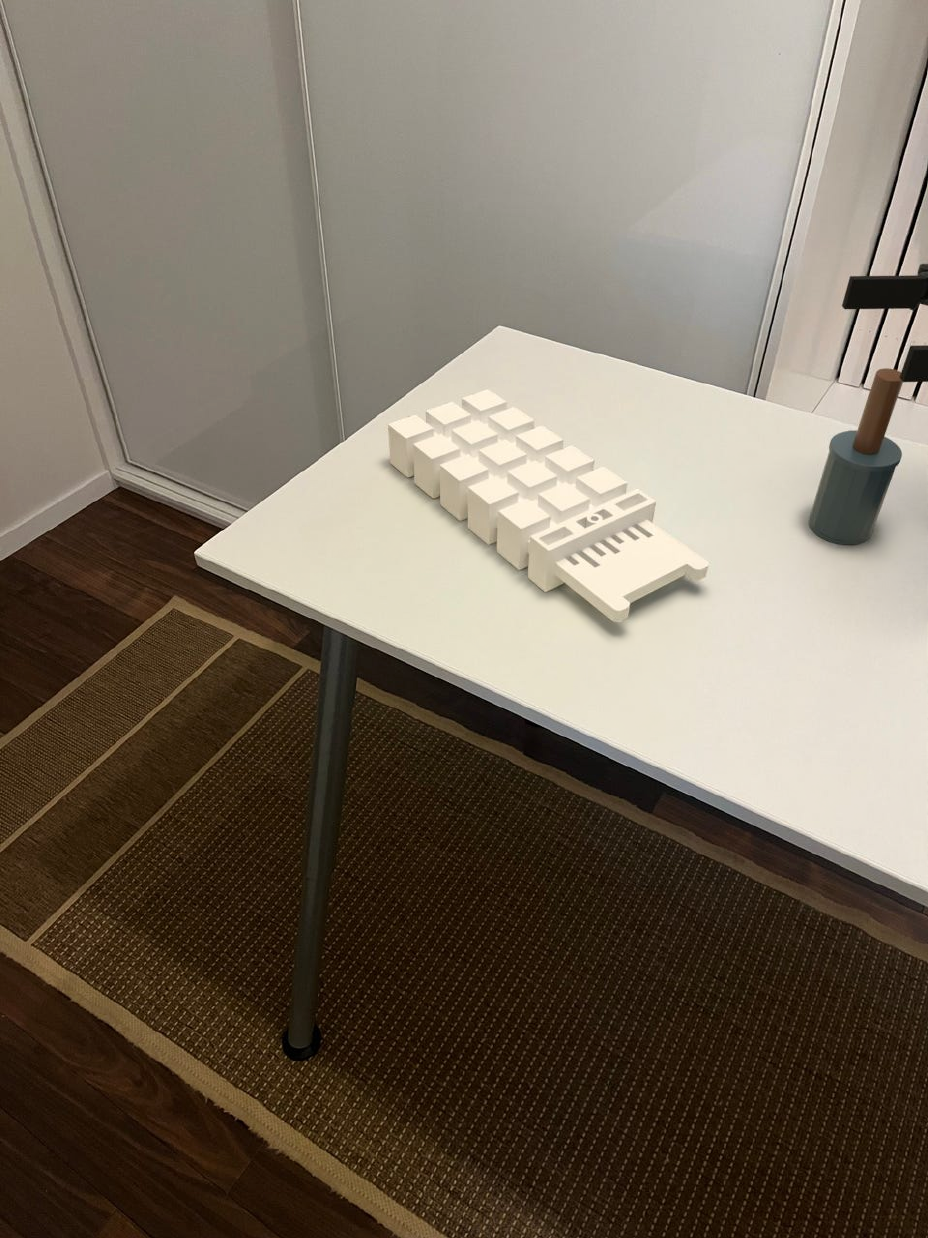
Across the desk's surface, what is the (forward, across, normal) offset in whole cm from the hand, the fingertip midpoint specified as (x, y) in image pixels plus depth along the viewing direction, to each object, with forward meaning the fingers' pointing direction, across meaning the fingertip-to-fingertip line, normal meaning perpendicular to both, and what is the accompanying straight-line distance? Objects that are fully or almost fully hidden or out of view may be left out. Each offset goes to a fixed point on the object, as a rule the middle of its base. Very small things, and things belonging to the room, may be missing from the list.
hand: (874, 326), depth 78 cm
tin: (-4, +2, -22) cm, 22 cm away
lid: (-4, +2, -13) cm, 14 cm away
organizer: (+26, +4, -22) cm, 35 cm away
